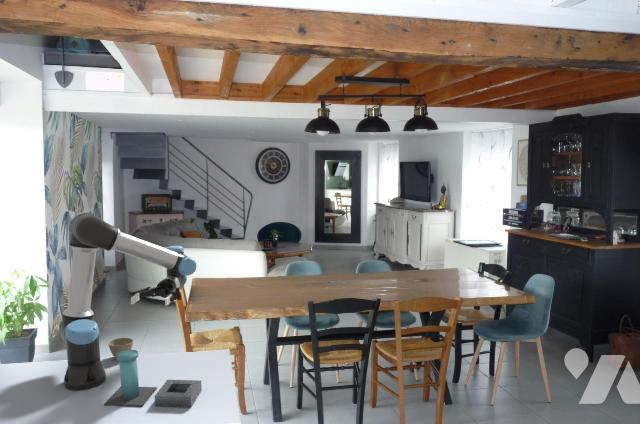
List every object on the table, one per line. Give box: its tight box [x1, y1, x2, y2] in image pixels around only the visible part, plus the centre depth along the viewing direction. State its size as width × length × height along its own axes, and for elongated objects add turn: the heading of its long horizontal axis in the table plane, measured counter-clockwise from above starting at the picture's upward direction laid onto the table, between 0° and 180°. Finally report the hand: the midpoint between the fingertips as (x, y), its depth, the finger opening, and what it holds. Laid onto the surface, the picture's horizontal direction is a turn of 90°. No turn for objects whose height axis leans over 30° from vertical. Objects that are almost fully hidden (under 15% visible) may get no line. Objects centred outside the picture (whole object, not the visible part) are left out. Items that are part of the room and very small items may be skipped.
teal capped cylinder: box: [115, 349, 140, 399], centre depth 201 cm, size 8×8×16 cm
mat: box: [103, 385, 158, 408], centre depth 202 cm, size 14×14×1 cm
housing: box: [154, 379, 203, 409], centre depth 200 cm, size 13×13×4 cm
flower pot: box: [108, 337, 134, 360], centre depth 237 cm, size 10×10×7 cm
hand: (148, 301), depth 213 cm, fingers open, 13 cm apart
